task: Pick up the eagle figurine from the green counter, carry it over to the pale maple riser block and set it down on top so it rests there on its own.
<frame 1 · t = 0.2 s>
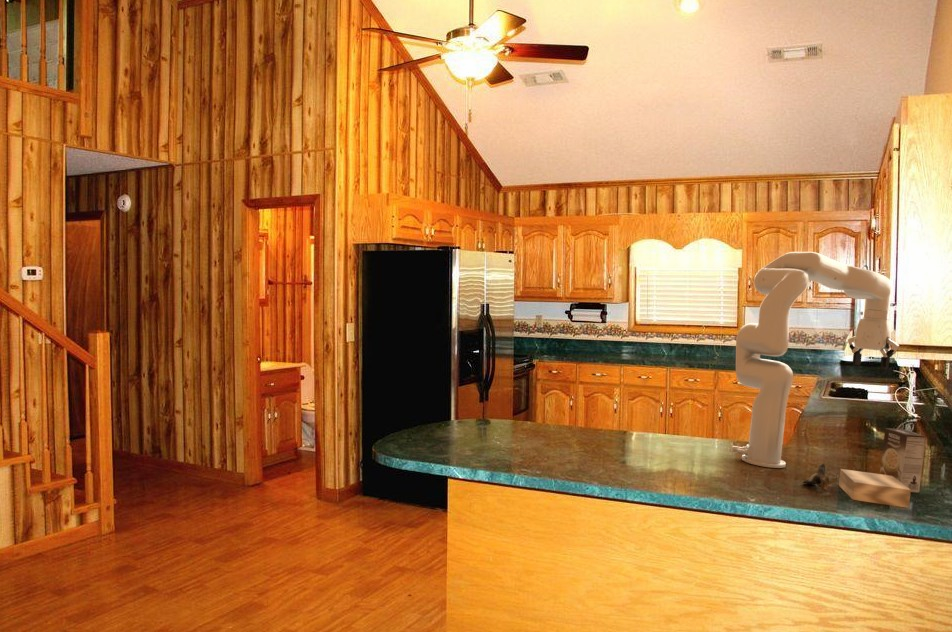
hand: (870, 367, 235), 31 cm above the table, tool pointing down, fingers open, 9 cm apart
coffee box: (898, 488, 201), on the table
maple block: (872, 497, 188), on the table
eagle figurine: (817, 489, 191), on the table
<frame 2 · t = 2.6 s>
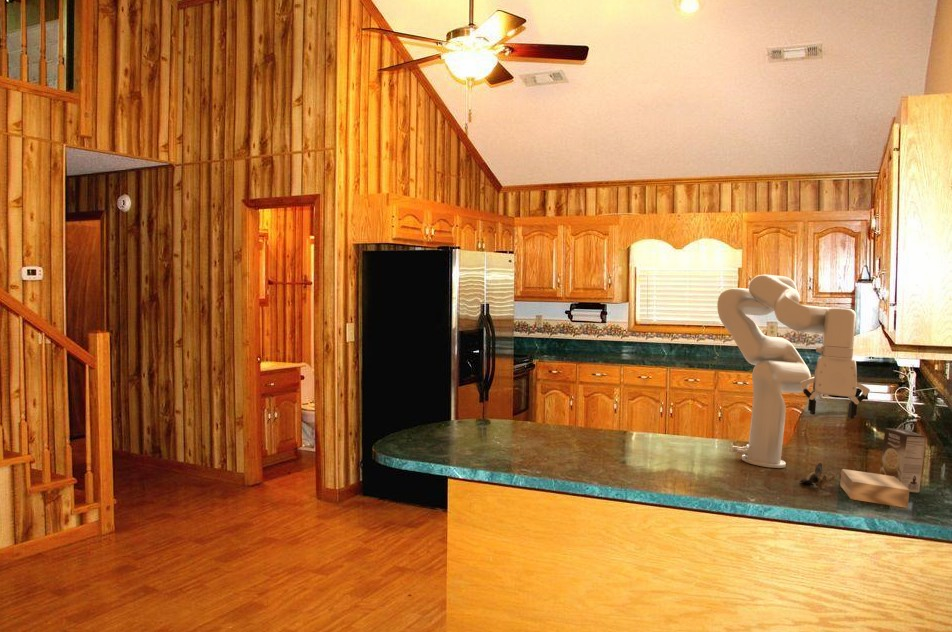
hand: (831, 416, 193), 20 cm above the table, tool pointing down, fingers open, 9 cm apart
eagle figurine: (814, 488, 192), on the table
everything else where it was.
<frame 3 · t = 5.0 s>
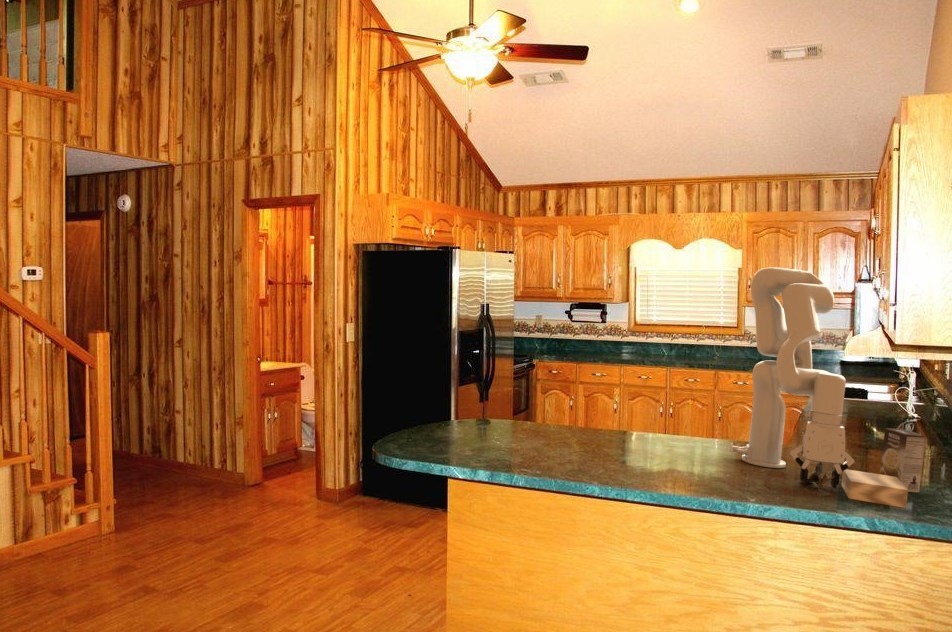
hand: (818, 484, 191), 1 cm above the table, tool pointing down, fingers closed on eagle figurine, 6 cm apart
eagle figurine: (815, 487, 193), on the table, touching gripper
everything else where it was.
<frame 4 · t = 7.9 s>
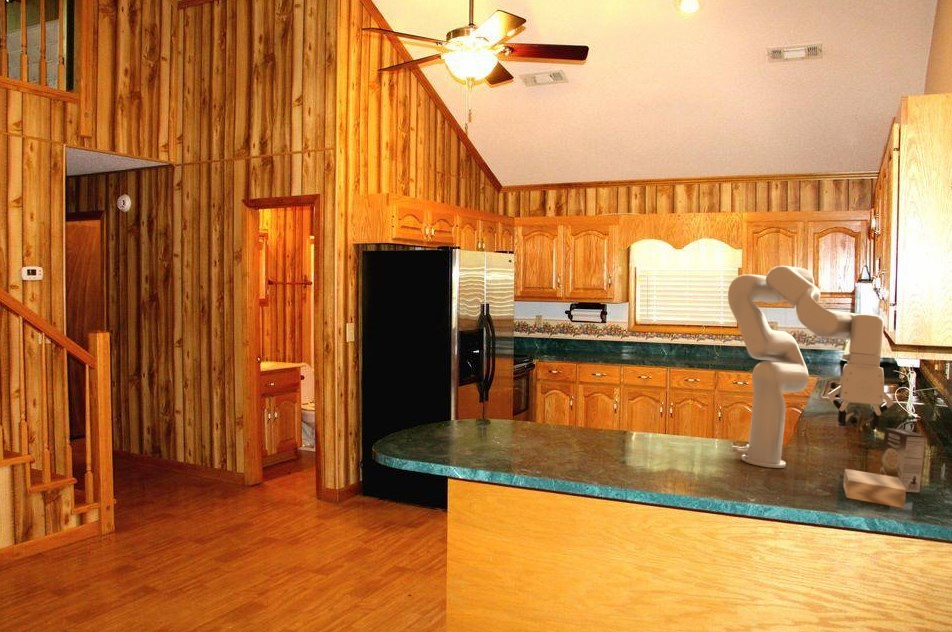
hand: (857, 426, 188), 18 cm above the table, tool pointing down, fingers closed on eagle figurine, 6 cm apart
eagle figurine: (853, 430, 191), point 16 cm above the table, touching gripper
everything else where it was.
when the fingers open (7 cm above the table, at t = 10.8 s): eagle figurine drops 1 cm, resting on maple block.
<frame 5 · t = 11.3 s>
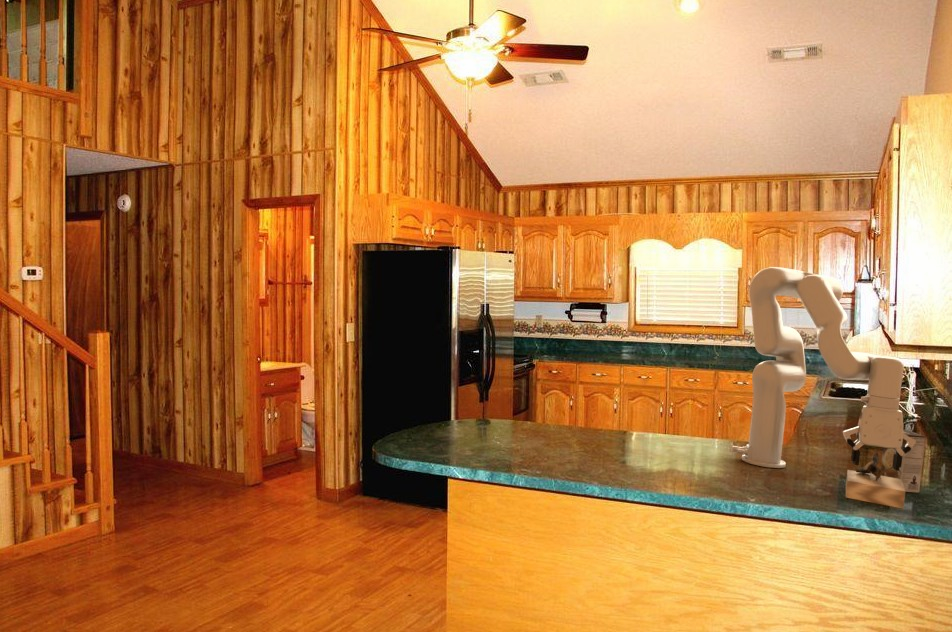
hand: (875, 466, 188), 8 cm above the table, tool pointing down, fingers open, 9 cm apart
maple block: (872, 498, 188), on the table, touching eagle figurine
eagle figurine: (871, 478, 190), point 4 cm above the table, touching maple block
everything else where it was.
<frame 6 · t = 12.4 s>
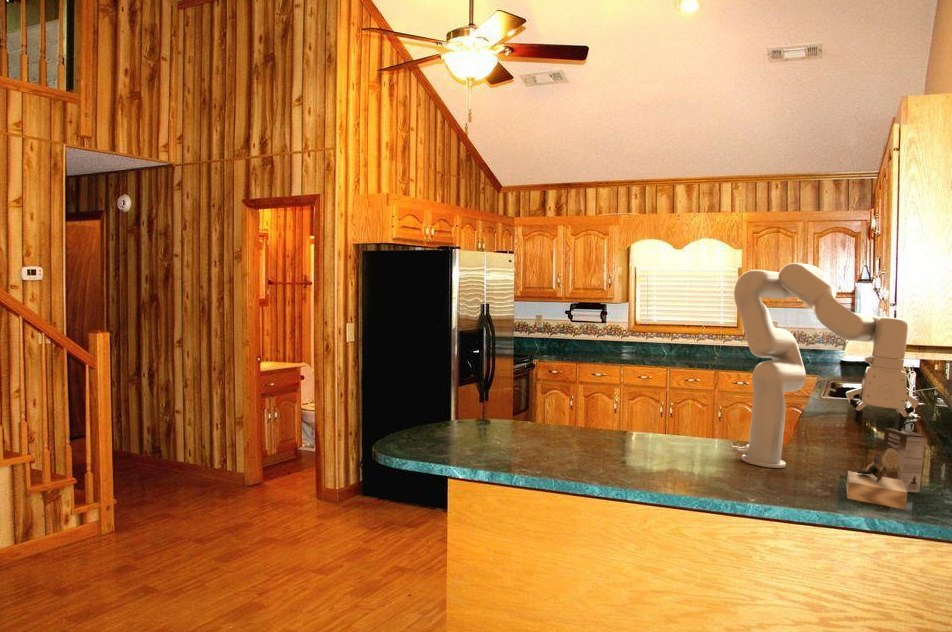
hand: (877, 427, 188), 18 cm above the table, tool pointing down, fingers open, 9 cm apart
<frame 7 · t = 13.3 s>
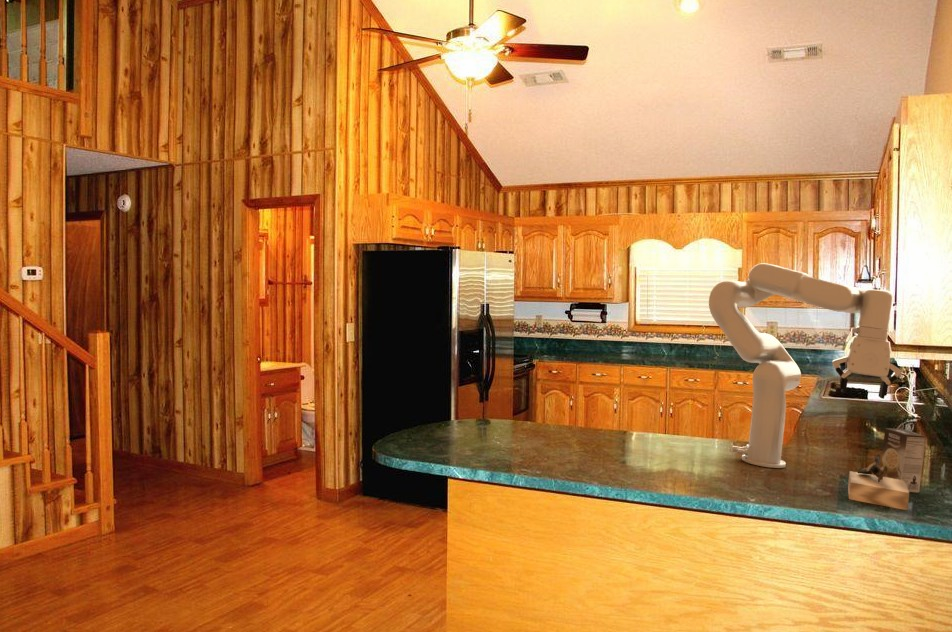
hand: (862, 394, 197), 26 cm above the table, tool pointing down, fingers open, 9 cm apart
maple block: (875, 499, 187), on the table
eagle figurine: (873, 479, 189), point 4 cm above the table
everything else where it was.
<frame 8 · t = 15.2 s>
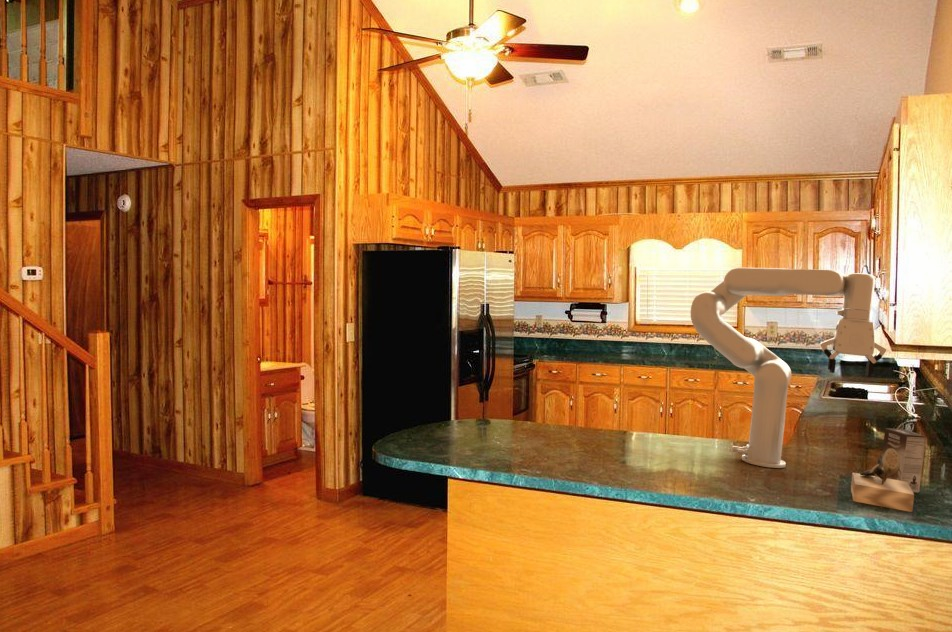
hand: (849, 374, 206), 30 cm above the table, tool pointing down, fingers open, 9 cm apart
maple block: (879, 501, 185), on the table, touching eagle figurine
eagle figurine: (876, 481, 188), point 4 cm above the table, touching maple block
everything else where it was.
at the end: eagle figurine inside the target area on the maple block (2.5 cm from its centre), point 4.8 cm above the maple block's base; eagle figurine touching maple block; the gripper is holding nothing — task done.
